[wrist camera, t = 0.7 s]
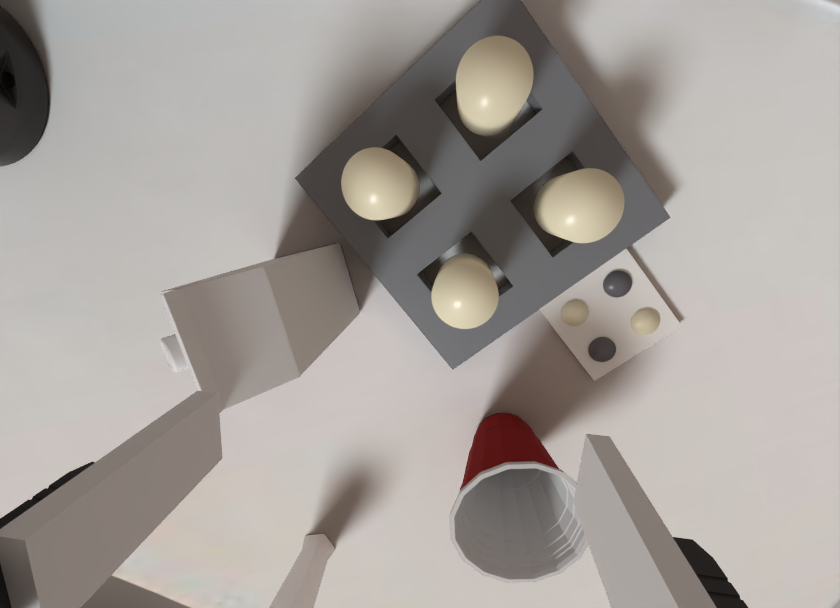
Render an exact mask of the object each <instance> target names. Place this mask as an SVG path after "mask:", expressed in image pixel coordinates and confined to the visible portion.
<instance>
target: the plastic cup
mask: <svg viewBox="0 0 840 608" xmlns="http://www.w3.org/2000/svg"><path fill="white" fill-rule="evenodd" d="M576 485H577V483H576V482H575V481H574V480H573V479H572V478H570V477H569V476H568V475H567V474H566V473H564V472H563V471H562V470H560V469H559V468H558V467H557V465H556V464H555V462H554V461H553V459H552V458H551V456H550V455H549V453H548V452H547V450H546V449H545V448H544V446H543V445H542V443H541V442H540V440H539V439H538V438H537V437H536V436H535V434H534V433H533V431H532V429H531V428H530V426H528V425H527V424H526V423H525V422H524V421H523V420H522V419H521V418H519V417H517V416H514V415H512V414H495V415H492V416H490V417H487V418H486V419H485V420H484V421H483V422H482V423H481V424H480V425H479V427H478V429H477V431H476V433H475V436H474V440H473V444H472V447H471V449H470V452H469V457H468V461H467V465H466V470H465V474H464V479H463V483H462V486H461V488H460V492H459V495H458V497H457V499H456V501H455V504H454V506H453V508H452V510H451V513H450V536H451V541H452V543H453V544H454V546H455V548H456V550H457V552H458V553H459V555H460V557H461V559H462V560H463V561H464V562H466V563H467V564H468V565H470V566H471V567H472V568H474V569H475V570H476V571H478V572H479V573H480V574H482V575H484V576H487V577H490V578H494V579H497V580H500V581H504V582H507V583H516V582H537V581H540V580H542V579H545V578H548V577H551V576H554V575H557V574H560V573H562V572H563V571H564V570H565V569H567V568H568V567H569V566H571V565H572V564H573V563H574V562H576V561H577V560H578V559H579V558H581V557H582V555H583V553H584V551H585V550H586V548H587V546H588V542H587V539H586V536H585V534H584V531H583V528H582V525H581V523H580V520H579V517H578V514H577V512H576V509H575V506H574V503H573V501H574V496H575V490H576Z"/></svg>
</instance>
